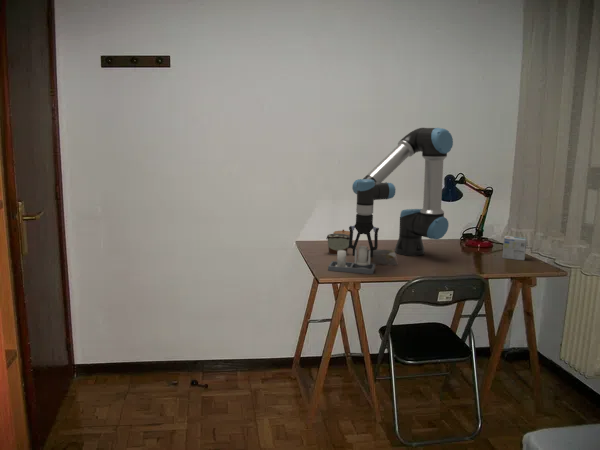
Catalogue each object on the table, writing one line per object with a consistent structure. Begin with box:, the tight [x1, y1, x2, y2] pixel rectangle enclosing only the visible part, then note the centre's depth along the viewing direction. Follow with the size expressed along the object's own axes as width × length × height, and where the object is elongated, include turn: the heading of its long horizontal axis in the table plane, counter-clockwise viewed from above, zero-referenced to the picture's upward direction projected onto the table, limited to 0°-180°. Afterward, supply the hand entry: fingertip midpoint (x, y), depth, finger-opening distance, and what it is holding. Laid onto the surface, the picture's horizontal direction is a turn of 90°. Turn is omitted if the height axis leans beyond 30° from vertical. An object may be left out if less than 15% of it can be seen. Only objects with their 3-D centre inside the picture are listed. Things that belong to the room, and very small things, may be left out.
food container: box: [326, 233, 350, 256], centre depth 262 cm, size 12×6×10 cm, turn 84°
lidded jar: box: [332, 229, 350, 247], centre depth 277 cm, size 11×11×9 cm
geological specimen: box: [367, 249, 399, 266], centre depth 248 cm, size 11×6×15 cm
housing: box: [327, 250, 376, 275], centre depth 234 cm, size 20×10×8 cm, turn 76°
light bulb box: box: [501, 235, 527, 261], centre depth 258 cm, size 11×7×11 cm, turn 65°
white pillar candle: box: [356, 245, 369, 266], centre depth 232 cm, size 6×6×8 cm
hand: (362, 263), depth 232 cm, fingers closed on white pillar candle, 5 cm apart
